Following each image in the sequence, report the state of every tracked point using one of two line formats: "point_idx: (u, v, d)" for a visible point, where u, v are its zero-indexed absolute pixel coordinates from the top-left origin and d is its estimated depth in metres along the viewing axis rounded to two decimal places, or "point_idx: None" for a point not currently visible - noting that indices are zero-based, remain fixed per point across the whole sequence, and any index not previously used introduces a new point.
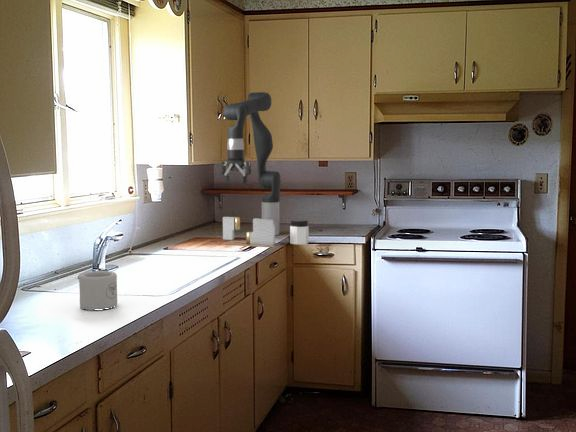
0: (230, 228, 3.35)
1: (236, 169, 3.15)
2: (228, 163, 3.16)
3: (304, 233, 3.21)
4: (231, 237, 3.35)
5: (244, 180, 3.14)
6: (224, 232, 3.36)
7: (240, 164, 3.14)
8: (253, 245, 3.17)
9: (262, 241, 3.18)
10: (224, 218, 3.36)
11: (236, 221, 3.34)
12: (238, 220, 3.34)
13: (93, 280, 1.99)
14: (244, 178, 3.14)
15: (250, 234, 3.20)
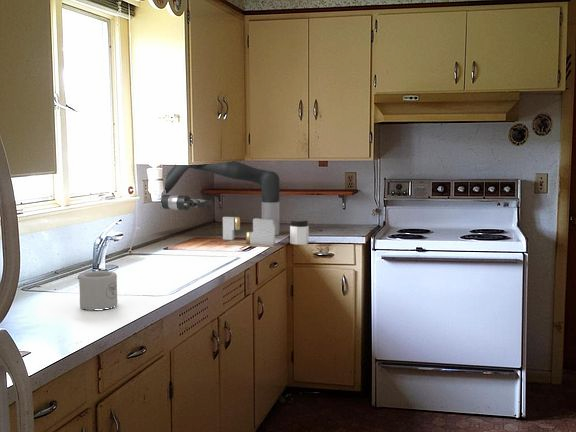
0: (230, 228, 3.35)
1: None
2: None
3: (304, 233, 3.21)
4: (231, 237, 3.35)
5: (201, 206, 3.35)
6: (224, 232, 3.36)
7: None
8: (253, 245, 3.17)
9: (262, 241, 3.18)
10: (224, 218, 3.36)
11: (236, 221, 3.34)
12: (238, 220, 3.34)
13: (93, 280, 1.99)
14: (199, 206, 3.35)
15: (250, 234, 3.20)
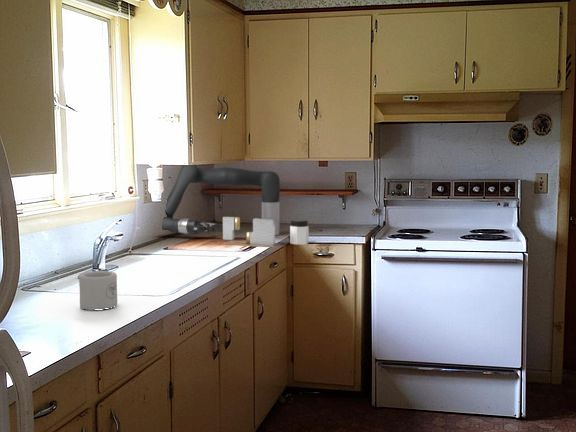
0: (230, 228, 3.35)
1: None
2: None
3: (304, 233, 3.21)
4: (231, 237, 3.35)
5: (211, 230, 3.35)
6: (224, 232, 3.36)
7: None
8: (253, 245, 3.17)
9: (262, 241, 3.18)
10: (224, 218, 3.36)
11: (236, 221, 3.34)
12: (238, 220, 3.34)
13: (93, 280, 1.99)
14: (209, 230, 3.35)
15: (250, 234, 3.20)
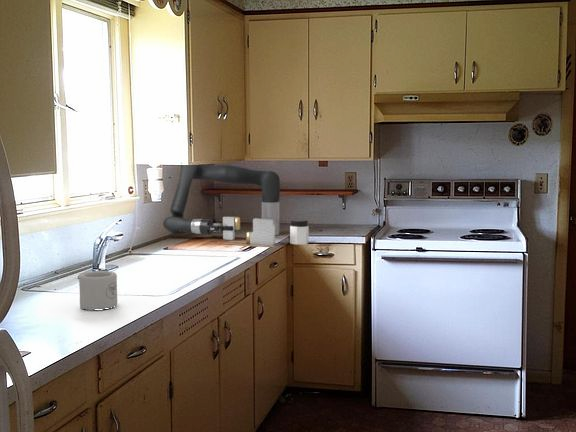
0: None
1: None
2: None
3: (304, 233, 3.21)
4: (231, 237, 3.35)
5: (229, 230, 3.35)
6: (224, 232, 3.36)
7: None
8: (253, 245, 3.17)
9: (262, 241, 3.18)
10: (224, 218, 3.36)
11: (236, 221, 3.34)
12: (238, 220, 3.34)
13: (93, 280, 1.99)
14: (227, 230, 3.35)
15: (250, 234, 3.20)
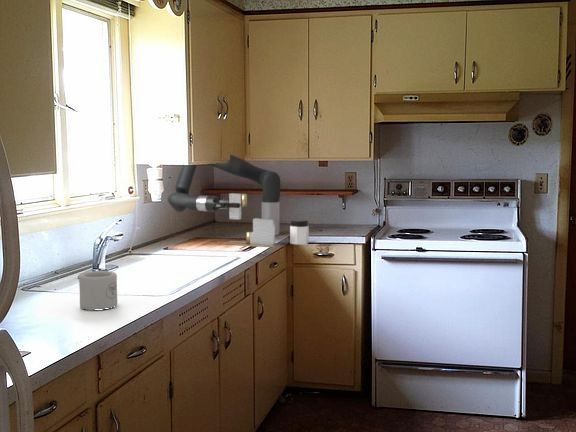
0: None
1: None
2: None
3: (304, 233, 3.21)
4: (238, 214, 3.24)
5: (235, 207, 3.24)
6: (230, 209, 3.25)
7: None
8: (253, 245, 3.17)
9: (262, 241, 3.18)
10: (230, 195, 3.25)
11: (243, 198, 3.22)
12: (245, 196, 3.23)
13: (93, 280, 1.99)
14: (233, 207, 3.24)
15: (250, 234, 3.20)
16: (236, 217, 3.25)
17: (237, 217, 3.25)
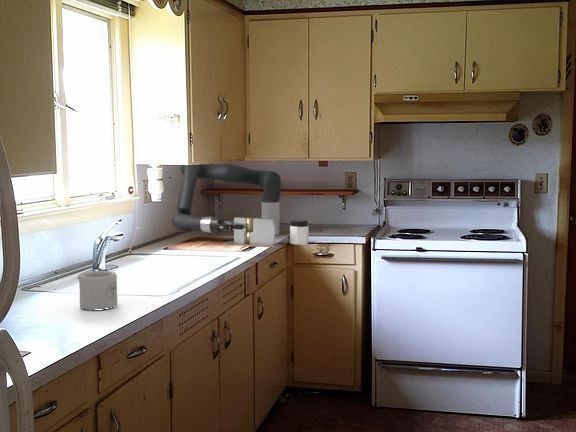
0: None
1: None
2: None
3: (304, 233, 3.21)
4: (243, 239, 3.21)
5: (238, 228, 3.19)
6: (235, 233, 3.22)
7: None
8: (253, 245, 3.17)
9: (262, 241, 3.18)
10: (235, 219, 3.22)
11: (248, 222, 3.20)
12: (250, 221, 3.20)
13: (93, 280, 1.99)
14: (237, 228, 3.20)
15: (250, 234, 3.20)
16: (241, 241, 3.22)
17: (242, 241, 3.22)
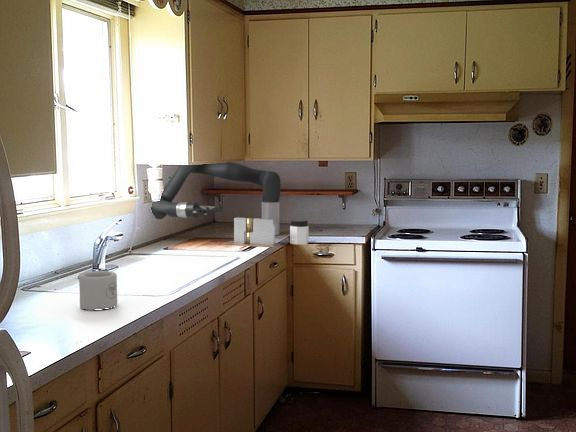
0: (241, 229, 3.21)
1: None
2: None
3: (304, 233, 3.21)
4: (243, 239, 3.21)
5: (211, 213, 3.22)
6: (235, 233, 3.22)
7: None
8: (253, 245, 3.17)
9: (262, 241, 3.18)
10: (235, 219, 3.22)
11: (248, 222, 3.20)
12: (250, 221, 3.20)
13: (93, 280, 1.99)
14: (209, 213, 3.22)
15: (250, 234, 3.20)
16: (241, 241, 3.22)
17: (242, 241, 3.22)
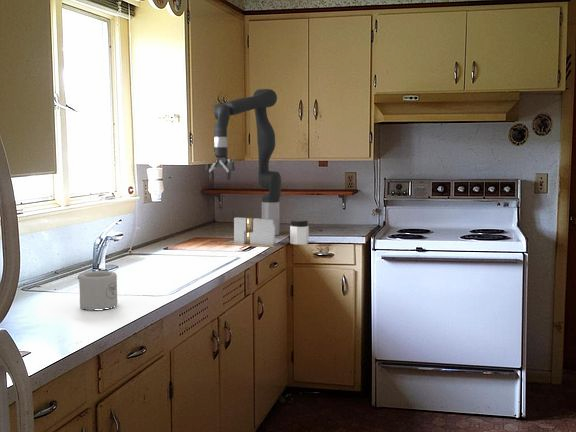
0: (241, 229, 3.21)
1: (220, 166, 3.31)
2: None
3: (304, 233, 3.21)
4: (243, 239, 3.21)
5: (227, 176, 3.31)
6: (235, 233, 3.22)
7: (224, 161, 3.30)
8: (253, 245, 3.17)
9: (262, 241, 3.18)
10: (235, 219, 3.22)
11: (248, 222, 3.20)
12: (250, 221, 3.20)
13: (93, 280, 1.99)
14: (227, 174, 3.31)
15: (250, 234, 3.20)
16: (241, 241, 3.22)
17: (242, 241, 3.22)
